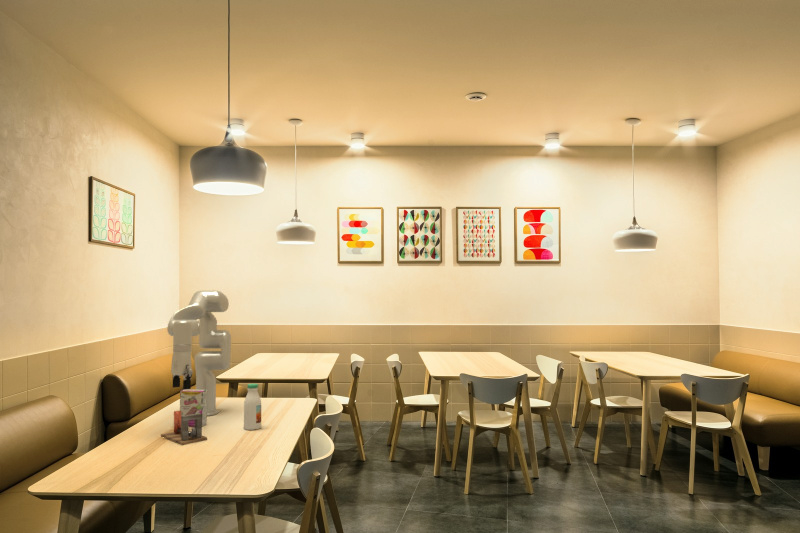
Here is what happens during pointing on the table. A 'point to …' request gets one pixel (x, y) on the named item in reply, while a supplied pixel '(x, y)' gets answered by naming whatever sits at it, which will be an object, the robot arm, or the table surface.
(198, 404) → the candy bar box
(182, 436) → the eye stand
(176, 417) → the lever
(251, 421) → the milk bottle
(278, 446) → the table surface
